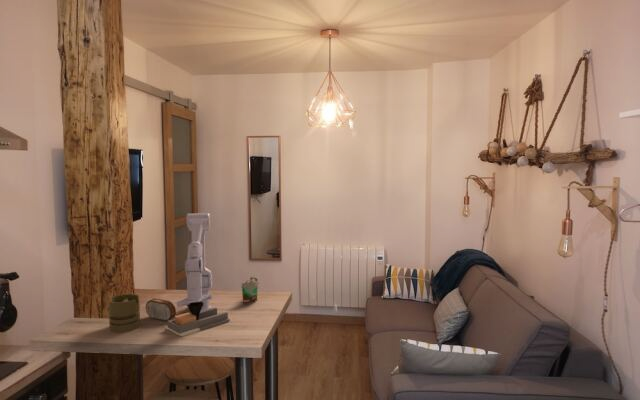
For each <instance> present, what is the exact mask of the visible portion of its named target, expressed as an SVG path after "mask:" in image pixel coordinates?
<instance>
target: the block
mask: <svg viewBox="0 0 640 400" xmlns="http://www.w3.org/2000/svg"><path fill="white" fill-rule="evenodd" d="M174 319H175V323H176V324H178V325H183V324H186V323H190V322H193V321H196V316H195V315H193V314H191V312H186V313H182V314H178V315H175V317H174Z"/></svg>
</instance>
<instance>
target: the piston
mask: <svg viewBox="0 0 640 400" xmlns="http://www.w3.org/2000/svg"><path fill="white" fill-rule="evenodd" d="M139 298H140V297H139V294H135V293H125V294H119V295H115V296H112V298H111V299H112V300H110V301H108V315H109V317H108V321H109V322H108V324H109V325H108V326H109V331H110V332H111V333H127V332H132V331H135V330H136V329H138V328H140V326H141V313H140V299H139Z"/></svg>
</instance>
